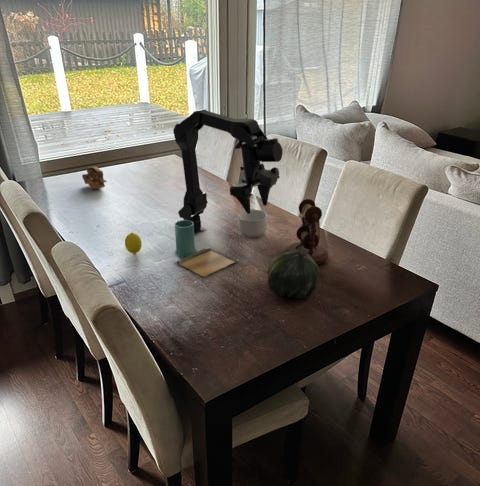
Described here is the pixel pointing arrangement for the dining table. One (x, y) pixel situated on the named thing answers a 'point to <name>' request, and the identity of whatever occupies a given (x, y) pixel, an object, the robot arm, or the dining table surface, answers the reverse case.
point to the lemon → (133, 243)
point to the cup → (184, 237)
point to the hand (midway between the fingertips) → (257, 209)
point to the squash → (293, 274)
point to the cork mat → (204, 262)
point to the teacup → (253, 223)
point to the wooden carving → (94, 178)
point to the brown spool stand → (309, 233)
